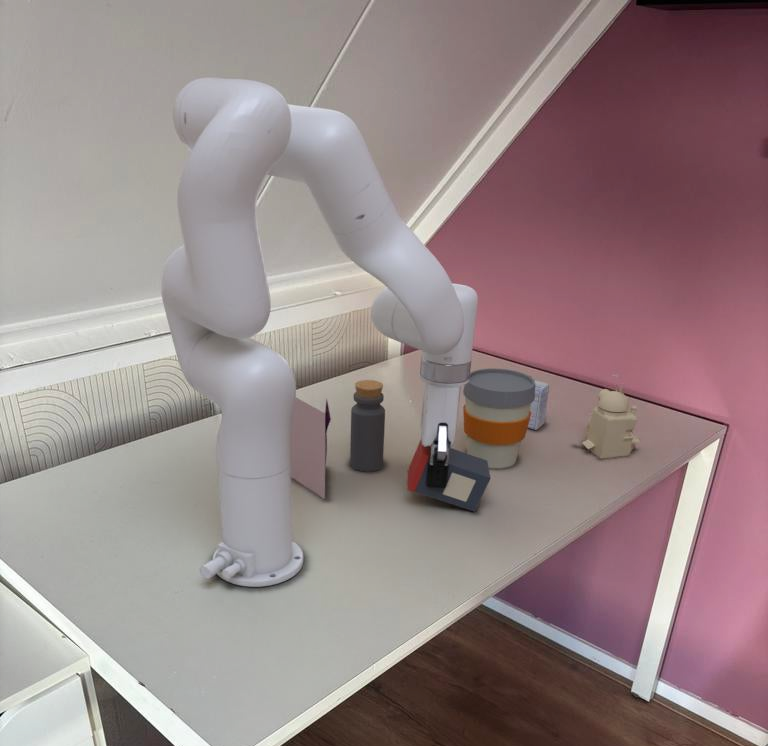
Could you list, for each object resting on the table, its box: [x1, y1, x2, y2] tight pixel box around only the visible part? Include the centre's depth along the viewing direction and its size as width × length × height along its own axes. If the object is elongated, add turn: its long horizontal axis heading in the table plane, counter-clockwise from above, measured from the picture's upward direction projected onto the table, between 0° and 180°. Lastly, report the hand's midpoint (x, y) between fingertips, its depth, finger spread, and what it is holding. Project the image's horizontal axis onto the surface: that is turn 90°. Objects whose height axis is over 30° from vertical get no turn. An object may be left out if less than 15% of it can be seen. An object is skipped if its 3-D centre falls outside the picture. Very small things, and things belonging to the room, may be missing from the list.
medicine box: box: [527, 379, 550, 431], centre depth 160 cm, size 8×4×9 cm, turn 58°
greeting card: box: [290, 397, 332, 500], centre depth 132 cm, size 11×7×15 cm, turn 3°
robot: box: [578, 373, 641, 459], centre depth 149 cm, size 10×8×15 cm
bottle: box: [349, 379, 386, 472], centre depth 139 cm, size 6×6×15 cm
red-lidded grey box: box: [406, 439, 491, 512], centre depth 129 cm, size 12×7×7 cm, turn 87°
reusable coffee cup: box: [462, 367, 536, 469], centre depth 144 cm, size 13×13×15 cm
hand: (434, 476), depth 129 cm, fingers closed on red-lidded grey box, 6 cm apart
